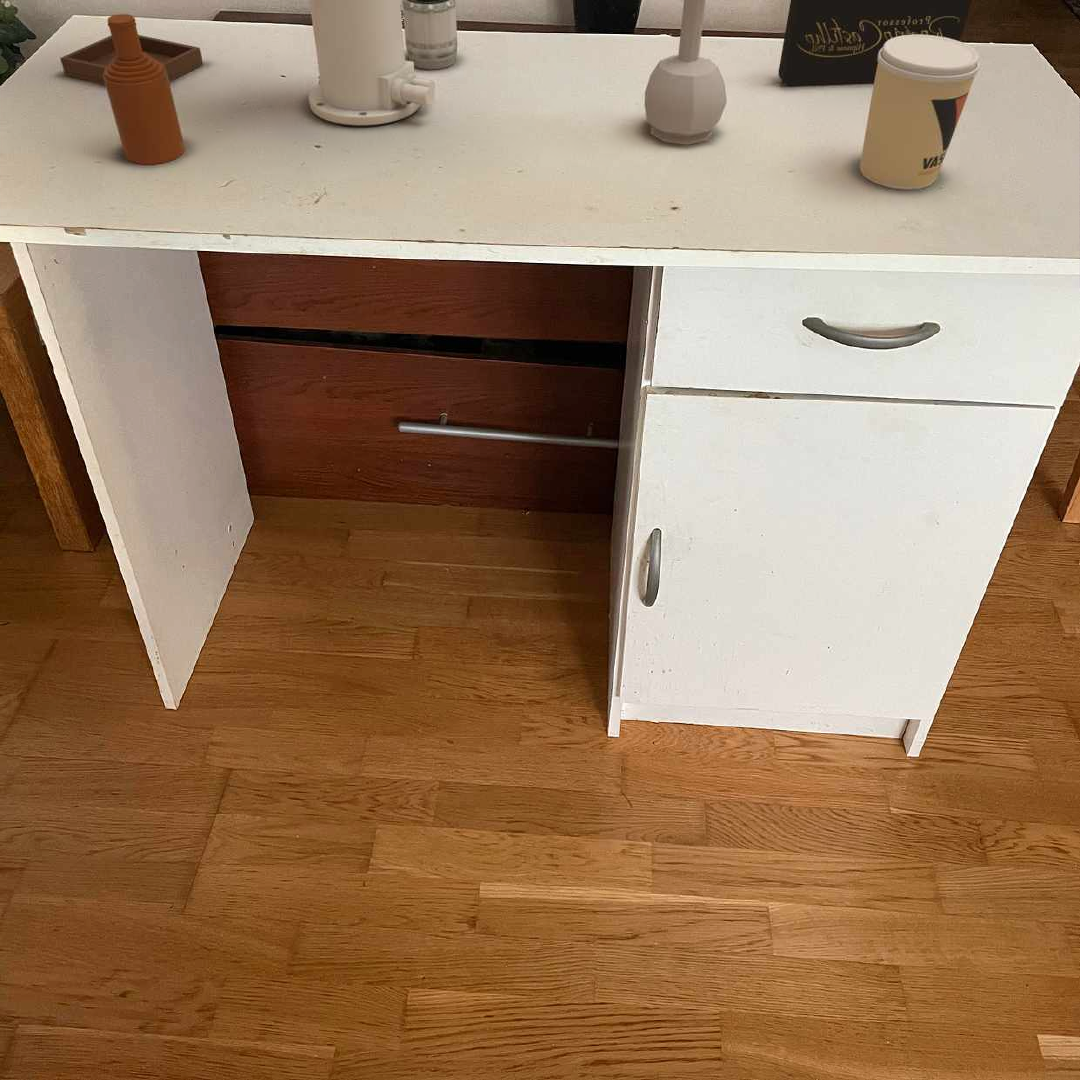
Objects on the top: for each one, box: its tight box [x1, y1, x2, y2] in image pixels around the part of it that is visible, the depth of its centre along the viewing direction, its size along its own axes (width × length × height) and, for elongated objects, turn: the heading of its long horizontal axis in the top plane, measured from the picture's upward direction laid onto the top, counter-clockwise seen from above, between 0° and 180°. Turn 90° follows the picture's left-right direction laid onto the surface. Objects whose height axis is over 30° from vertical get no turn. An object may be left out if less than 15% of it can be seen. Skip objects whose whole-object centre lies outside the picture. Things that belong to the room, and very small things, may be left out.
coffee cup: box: [859, 35, 981, 191], centre depth 100 cm, size 9×9×12 cm
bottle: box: [103, 13, 186, 165], centre depth 101 cm, size 6×6×13 cm
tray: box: [60, 34, 204, 85], centre depth 120 cm, size 12×10×2 cm
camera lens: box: [401, 0, 458, 70], centre depth 122 cm, size 6×6×8 cm
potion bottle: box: [644, 0, 728, 145], centre depth 104 cm, size 9×9×18 cm
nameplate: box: [777, 0, 973, 88], centre depth 118 cm, size 21×2×10 cm, turn 98°
